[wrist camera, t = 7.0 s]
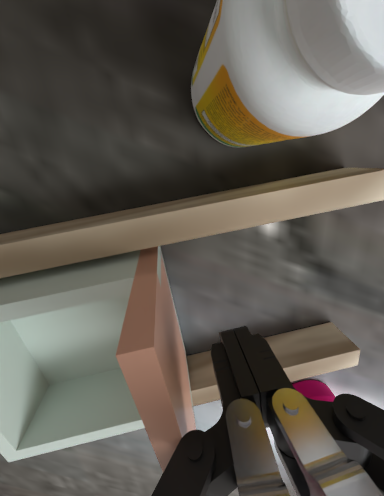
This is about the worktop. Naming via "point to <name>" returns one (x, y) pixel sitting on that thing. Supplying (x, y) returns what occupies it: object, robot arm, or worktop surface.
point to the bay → (200, 225)
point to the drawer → (92, 356)
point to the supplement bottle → (287, 68)
